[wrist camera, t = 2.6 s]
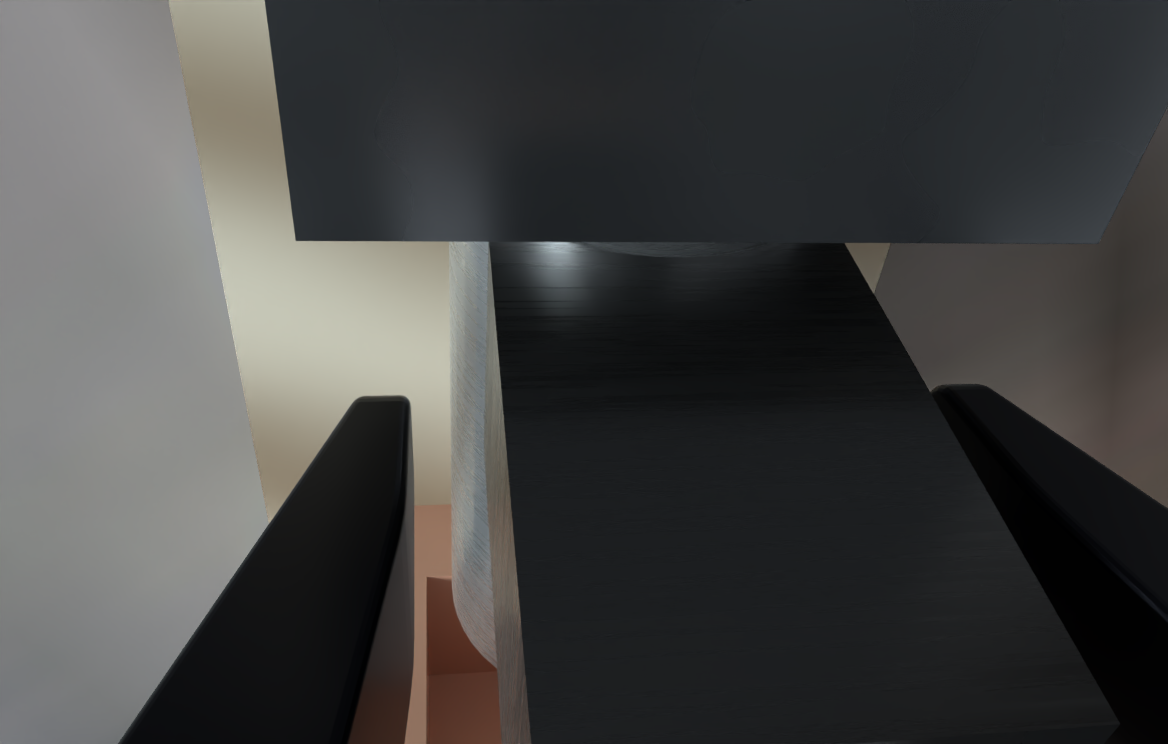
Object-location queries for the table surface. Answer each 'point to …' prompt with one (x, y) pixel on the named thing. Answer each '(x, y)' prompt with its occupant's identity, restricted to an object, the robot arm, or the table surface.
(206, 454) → the table surface
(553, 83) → the sleeve
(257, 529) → the table surface
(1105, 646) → the robot arm
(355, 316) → the base board
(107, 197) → the table surface
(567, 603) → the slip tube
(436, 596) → the socket
